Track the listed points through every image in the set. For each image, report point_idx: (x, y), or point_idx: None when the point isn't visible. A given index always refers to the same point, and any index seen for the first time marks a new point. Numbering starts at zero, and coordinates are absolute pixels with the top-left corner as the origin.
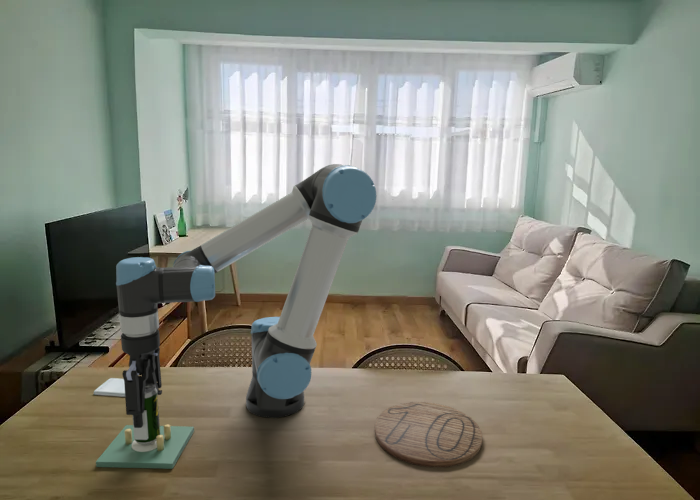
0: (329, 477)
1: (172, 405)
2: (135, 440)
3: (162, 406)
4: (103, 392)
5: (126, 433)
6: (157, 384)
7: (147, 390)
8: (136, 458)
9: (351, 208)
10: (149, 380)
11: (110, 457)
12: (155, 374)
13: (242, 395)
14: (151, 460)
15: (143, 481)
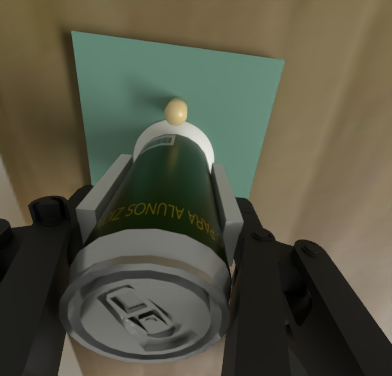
0: (110, 370)
1: (379, 161)
2: (145, 144)
3: (386, 135)
4: None
5: (165, 111)
6: (284, 297)
7: (118, 342)
8: (105, 152)
9: None
10: (226, 358)
11: (100, 75)
12: (319, 368)
13: (356, 285)
14: None
15: (51, 180)
